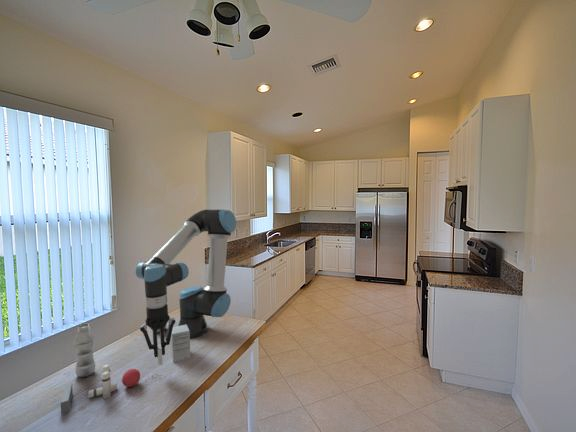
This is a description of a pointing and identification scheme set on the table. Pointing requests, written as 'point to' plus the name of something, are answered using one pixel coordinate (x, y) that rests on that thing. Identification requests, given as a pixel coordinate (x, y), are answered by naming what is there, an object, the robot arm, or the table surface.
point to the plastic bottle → (84, 351)
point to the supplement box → (180, 343)
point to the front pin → (99, 390)
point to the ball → (131, 378)
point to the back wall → (66, 399)
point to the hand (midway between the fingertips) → (160, 363)
